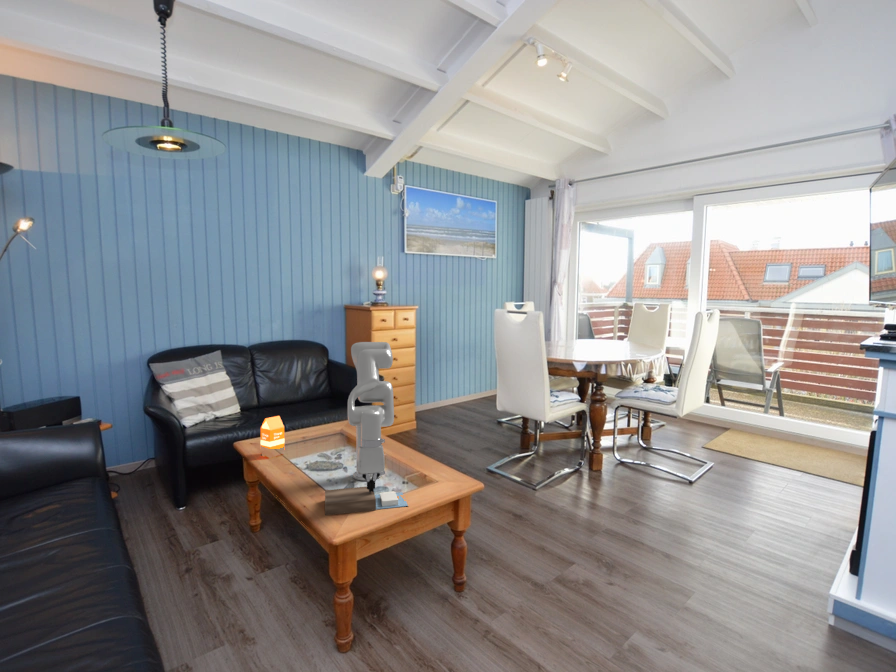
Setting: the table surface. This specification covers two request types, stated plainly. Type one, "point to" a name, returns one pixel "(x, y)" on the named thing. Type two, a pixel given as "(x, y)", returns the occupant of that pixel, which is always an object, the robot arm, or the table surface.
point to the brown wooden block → (349, 500)
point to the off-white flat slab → (388, 498)
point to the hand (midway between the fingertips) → (371, 490)
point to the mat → (400, 504)
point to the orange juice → (272, 433)
